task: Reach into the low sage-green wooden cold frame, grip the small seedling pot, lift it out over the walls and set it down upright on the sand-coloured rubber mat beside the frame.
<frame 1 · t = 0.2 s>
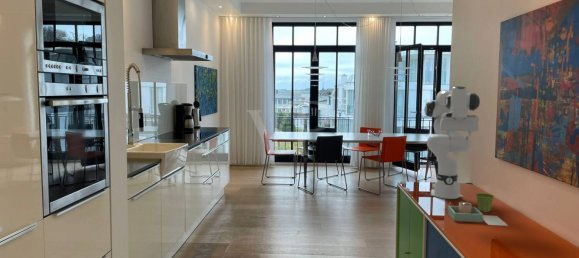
hand: (458, 139, 236), 39 cm above the table, tool pointing down, fingers open, 8 cm apart
seedling pot: (465, 210, 219), in the cold frame
plant pot: (484, 211, 232), on the table
cold frame: (464, 217, 220), on the table
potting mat: (492, 220, 215), on the table
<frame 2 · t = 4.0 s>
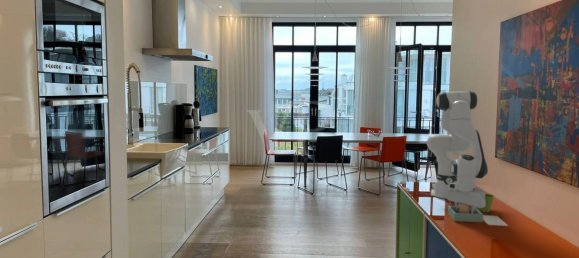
hand: (464, 212, 220), 3 cm above the table, tool pointing down, fingers closed on seedling pot, 6 cm apart
seedling pot: (465, 210, 219), in the cold frame, touching gripper
everything else where it was.
when the fingers open (5 cm above the table, at t = 10.3 s): seedling pot drops 2 cm, resting on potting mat.
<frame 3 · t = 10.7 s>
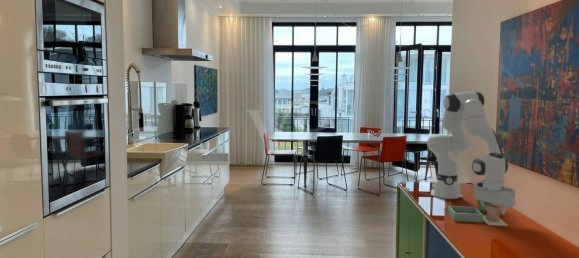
hand: (493, 211, 215), 5 cm above the table, tool pointing down, fingers open, 8 cm apart
seedling pot: (493, 212, 215), resting on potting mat
everything else where it was.
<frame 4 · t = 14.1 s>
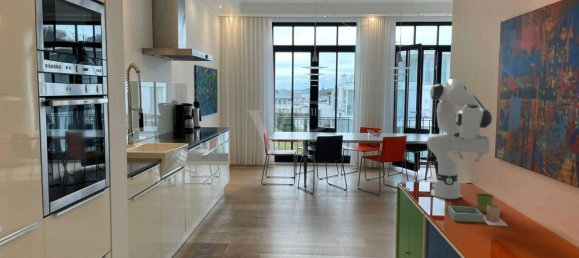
hand: (469, 160, 224), 29 cm above the table, tool pointing down, fingers open, 8 cm apart
nothing on the table moved.
at the end: seedling pot inside the target area on the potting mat (0.1 cm from its centre), point 4.0 cm above the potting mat's base; seedling pot tilted 0°; the gripper is holding nothing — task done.
